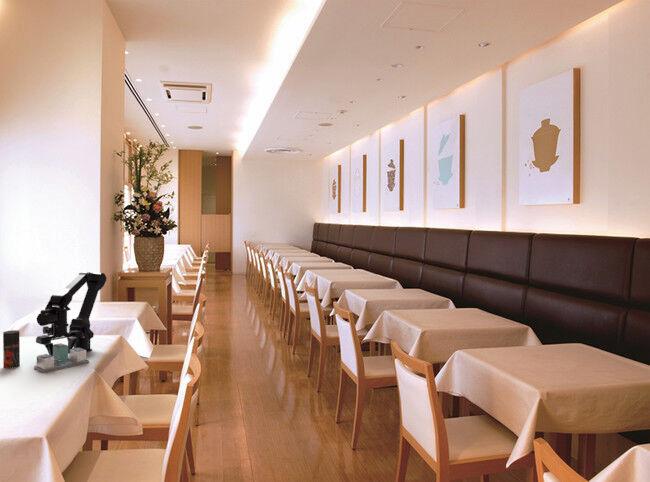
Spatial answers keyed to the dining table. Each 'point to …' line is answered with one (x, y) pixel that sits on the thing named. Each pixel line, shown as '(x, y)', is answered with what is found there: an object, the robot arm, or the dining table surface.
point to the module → (60, 351)
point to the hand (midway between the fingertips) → (60, 355)
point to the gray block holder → (47, 361)
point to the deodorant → (11, 349)
